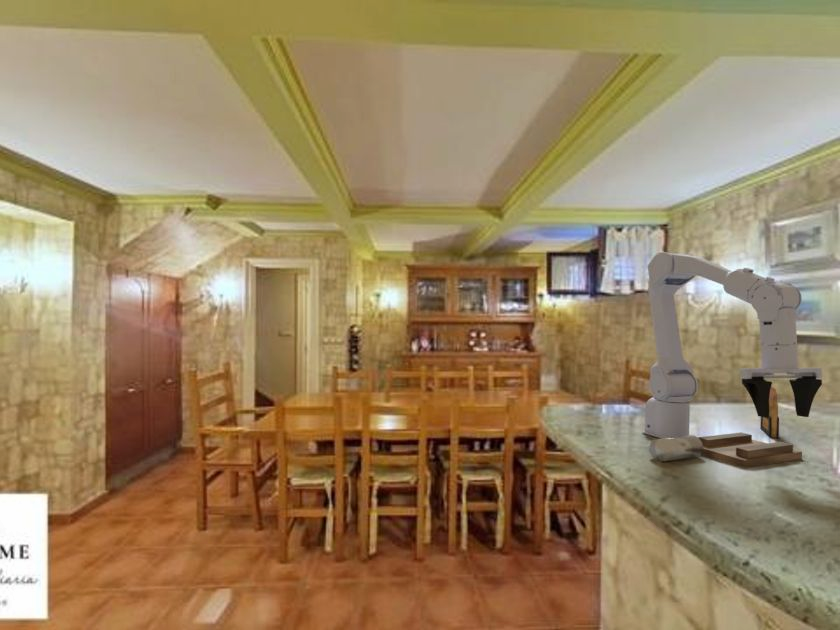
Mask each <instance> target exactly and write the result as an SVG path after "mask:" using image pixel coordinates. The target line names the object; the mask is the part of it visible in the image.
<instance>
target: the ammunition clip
mask: <svg viewBox="0 0 840 630" xmlns="http://www.w3.org/2000/svg"><path fill="white" fill-rule="evenodd" d="M759 429H760V430H761V431H762V432H763V433H764V434H765V435H766V436H767V437H769V438H770V439H779V438H780V437H779V435H780V417H779V403H778V393H777V389H776V388H774V387H772V386H771V389H770V395H769V417H760V428H759ZM769 438H768V439H769Z"/></svg>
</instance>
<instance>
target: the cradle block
mask: <svg viewBox="0 0 840 630" xmlns="http://www.w3.org/2000/svg"><path fill="white" fill-rule="evenodd" d="M697 437H698V436H697ZM698 438H699V439H700V440H701V442H702V444H703V453H702V454H701V455H700V456H702V455H703V457H706V458H710V459H713V460H717V461H718V462H719V461H720V462H722V463H726V464H730V465H733V466H735V467H739V468H742V469H747V468H753V467H759V466H766V465H773V464H778V463H785V462H791V461H798V460H802V459H803V451H800V450H797V449H794V444H792V443H787V442H784V441H777V442H776V441H775V442H769V443H768V442H763V441H760V440H755V439H753V435H752V434H749V433H745V432H732V433H725V434H716V435H707V436H706V435H704V436H699V437H698Z"/></svg>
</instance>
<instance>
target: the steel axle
mask: <svg viewBox="0 0 840 630" xmlns="http://www.w3.org/2000/svg"><path fill="white" fill-rule="evenodd" d="M649 452H650V455H651V457H652V458H653V460H655V459H657V460H656V461H658V460H660V461H659V462H661V461H664V462H671V461H678V460H685V458H686V459H691V458H692V459H693V458H698V457H699V458H700V456H702V455H701V454H702V453H703V444H702V442H701V440H700V439H699V438H698V436H696V435H693V434H692V435H691V434H689V436H680V437H671V438H655V439H652V441H651V442H650V443H649Z"/></svg>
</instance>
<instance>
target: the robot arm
mask: <svg viewBox="0 0 840 630" xmlns="http://www.w3.org/2000/svg"><path fill="white" fill-rule="evenodd" d="M647 270H648V279H649V282H648V283H649V284H648V288H647V289H648V290H647V291H648V299H649V305H650V313H651V320H652V327H653V335H654V342H655V349H656V356H657V361H656V362H655V363H654V364H653V365H652V366H650V368H649V372H650V375H649V376H650V377H649V380H648V381H649V382H648V389H649V391H650V393H651V395H652V396H653V397H651V398H649V399H648V400H647V401H646V404H645V408H644V430H641V433H642V434H645V435H649V436H652V437H656V438H658V439H662V438H671V437H680V436H689V435H690V416H691V414H690V413H691V409H690V408H691V402H692V401H693V397H695V396H696V394H697V393H698V391H699V383H698V382H699V381H698V380H697V377H696V376H695V374H694V371H693V367H692V365H691V364H690V363H689V362H687V361H686V360H685V359H684V356H683V355H684V354H683V349H682V343H681V335H680V328H679V322H678V316H677V315H678V314H677V308H676V303H675V302H676V301H675V294H676V293H677V292H678V290H680V289H681V288H683V287H684V286H686V285H687V284H688V283H689V282H691V281H692V280H693V279H694V278H695V277H701V278H704V279H706V280H708V281H711V282H714V283H717V284H720V285H722V286H723V290H724V292H725V293H726V294H728V295H730V296H732V297H735V298H737V299H739V300H741V301H744V302H746V303H747V304H750V305H751V306H752V308H753V310H755V312H756V313H757V315H756V316H757V319H758V320H759V321H758V322H759V336H760V352H761V353H760V354H761V367H752V368H751V367H749V368H748V367H741V368H739V378H740V379H741V384H742V385H743V387H744V388H745V389H746V391H747V392H748V394H749V396H750V398H751V400H752V402H753V405H754V408H755V412H756V414H757V417H760V418H761V417H769V395H770V389H771V387H772V386H773V381H771V380H770V381H767V380H766V379H789V380H788V381H789V384H790V386H791V389H792V393H793V397H794V407H795V412H796V417H804V418H809V417H810V412H811V408H812V405H813V401H814V399H815V396H816V394H817V393H818V390H820V388H821V387H822V385H823V380H822V378H823V374H822V373H823V371H822V368H821V367H799V353H798V336H797V335H798V333H797V318H796V310H797V309H798V308H799V307H800V306H801V303H802V293H801V291H800V290H799V289H798V288H797V287H796V286H794V285H793V284H792V283H788V282H787V283H786V282H784V283H776V282H775V280H776V279H775V278H773V277H771V276H766V277H765V276H761V275H759V274H756V273H755V272H754V271H755V270H754V269H753V268H751V267H750V268H749V267H744V268H737V269H734V270H729V269H727V268H726V267H724V266H721V265H719V264H717V263H715V262H712V261H710V260H709V259H706V258H703V257H702V256H698V255H694V254H691V253H686V254H683V253H671V252H665V251H660V252H658V253H656V254H655V255H653V257H652V259H650V261H649V263H648V264H647ZM775 374H780V375H775ZM781 374H786V375H781Z"/></svg>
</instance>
